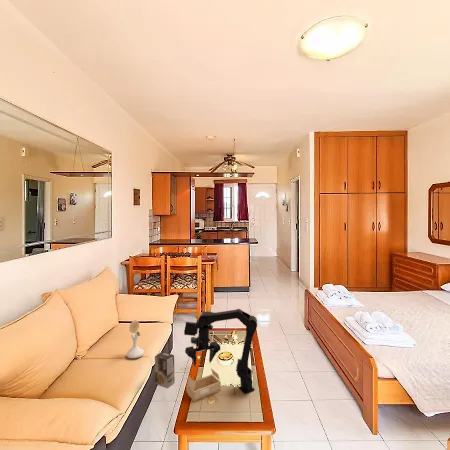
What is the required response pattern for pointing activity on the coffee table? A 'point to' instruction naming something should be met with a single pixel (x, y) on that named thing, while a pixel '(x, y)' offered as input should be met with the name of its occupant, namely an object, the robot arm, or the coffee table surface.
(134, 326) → the flower in vase
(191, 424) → the coffee table surface
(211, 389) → the carton
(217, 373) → the inner flap
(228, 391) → the coffee table surface
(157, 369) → the coffee box
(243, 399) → the coffee table surface
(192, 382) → the outer flap
